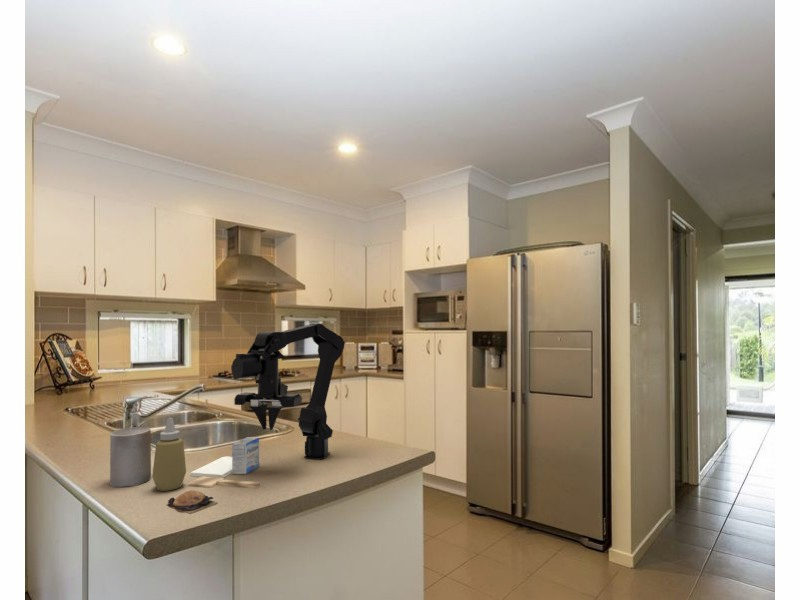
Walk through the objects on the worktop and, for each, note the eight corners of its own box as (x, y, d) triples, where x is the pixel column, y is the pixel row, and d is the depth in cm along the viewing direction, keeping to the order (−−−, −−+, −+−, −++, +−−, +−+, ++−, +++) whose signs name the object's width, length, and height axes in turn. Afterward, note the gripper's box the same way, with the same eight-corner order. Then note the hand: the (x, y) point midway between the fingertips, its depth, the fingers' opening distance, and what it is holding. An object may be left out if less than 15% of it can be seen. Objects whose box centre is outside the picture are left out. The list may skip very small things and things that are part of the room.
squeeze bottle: (163, 495, 118) (164, 422, 118) (145, 489, 122) (146, 419, 123) (192, 485, 124) (193, 416, 125) (174, 480, 129) (175, 413, 129)
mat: (252, 461, 145) (252, 458, 145) (221, 478, 130) (222, 474, 130) (224, 459, 148) (224, 456, 148) (190, 476, 132) (190, 472, 132)
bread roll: (220, 505, 112) (220, 490, 112) (187, 517, 105) (188, 501, 105) (194, 496, 118) (194, 481, 118) (161, 507, 111) (162, 491, 111)
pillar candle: (137, 473, 135) (137, 420, 135) (158, 478, 130) (158, 424, 130) (102, 484, 126) (102, 428, 127) (122, 490, 122) (122, 431, 122)
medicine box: (245, 475, 133) (246, 444, 133) (231, 474, 134) (231, 443, 134) (259, 466, 140) (259, 437, 141) (246, 465, 141) (246, 436, 142)
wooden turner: (264, 483, 126) (264, 479, 126) (252, 491, 120) (252, 487, 120) (202, 478, 130) (202, 475, 130) (187, 486, 124) (187, 482, 124)
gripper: (309, 372, 142) (309, 424, 142) (253, 371, 146) (253, 422, 146) (293, 377, 131) (293, 433, 131) (233, 375, 136) (233, 430, 135)
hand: (268, 429), depth 136 cm, fingers closed
